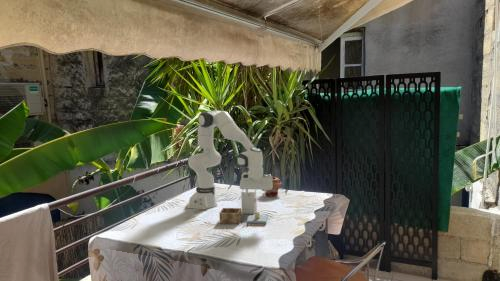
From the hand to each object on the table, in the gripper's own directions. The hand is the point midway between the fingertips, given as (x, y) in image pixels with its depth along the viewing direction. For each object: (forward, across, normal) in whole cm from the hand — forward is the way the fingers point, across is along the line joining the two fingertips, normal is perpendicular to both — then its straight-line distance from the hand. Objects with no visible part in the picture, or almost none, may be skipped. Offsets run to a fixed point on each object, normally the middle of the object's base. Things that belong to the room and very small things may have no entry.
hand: (256, 196), depth 218 cm
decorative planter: (+18, -2, -58) cm, 60 cm away
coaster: (+17, 0, 0) cm, 17 cm away
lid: (+16, 0, 0) cm, 16 cm away
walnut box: (+17, +16, 0) cm, 24 cm away
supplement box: (+17, +8, -19) cm, 26 cm away
